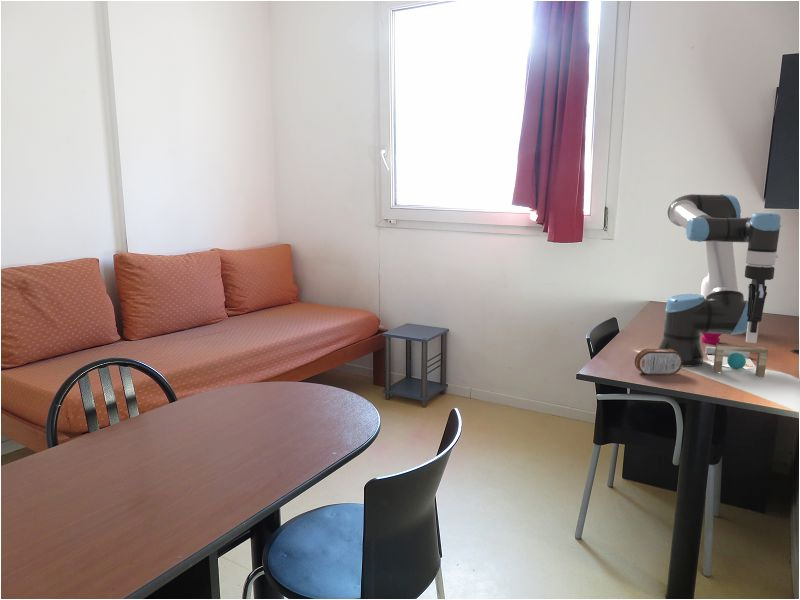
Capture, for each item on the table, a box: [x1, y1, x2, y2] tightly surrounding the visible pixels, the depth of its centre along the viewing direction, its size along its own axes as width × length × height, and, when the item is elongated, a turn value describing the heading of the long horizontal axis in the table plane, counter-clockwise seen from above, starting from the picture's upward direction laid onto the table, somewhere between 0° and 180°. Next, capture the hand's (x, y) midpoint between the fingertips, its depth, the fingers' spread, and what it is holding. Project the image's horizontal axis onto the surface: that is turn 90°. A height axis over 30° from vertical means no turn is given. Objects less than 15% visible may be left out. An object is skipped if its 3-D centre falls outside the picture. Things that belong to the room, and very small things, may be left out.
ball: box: [727, 353, 746, 370], centre depth 205 cm, size 6×6×6 cm
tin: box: [634, 348, 683, 376], centre depth 199 cm, size 15×3×8 cm, turn 92°
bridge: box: [712, 343, 769, 378], centre depth 200 cm, size 3×14×9 cm, turn 70°
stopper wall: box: [704, 345, 751, 359], centre depth 222 cm, size 14×2×2 cm, turn 70°
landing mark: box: [706, 354, 757, 370], centre depth 213 cm, size 14×14×1 cm
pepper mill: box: [701, 333, 722, 345], centre depth 239 cm, size 7×7×20 cm
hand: (751, 342), depth 186 cm, fingers closed
